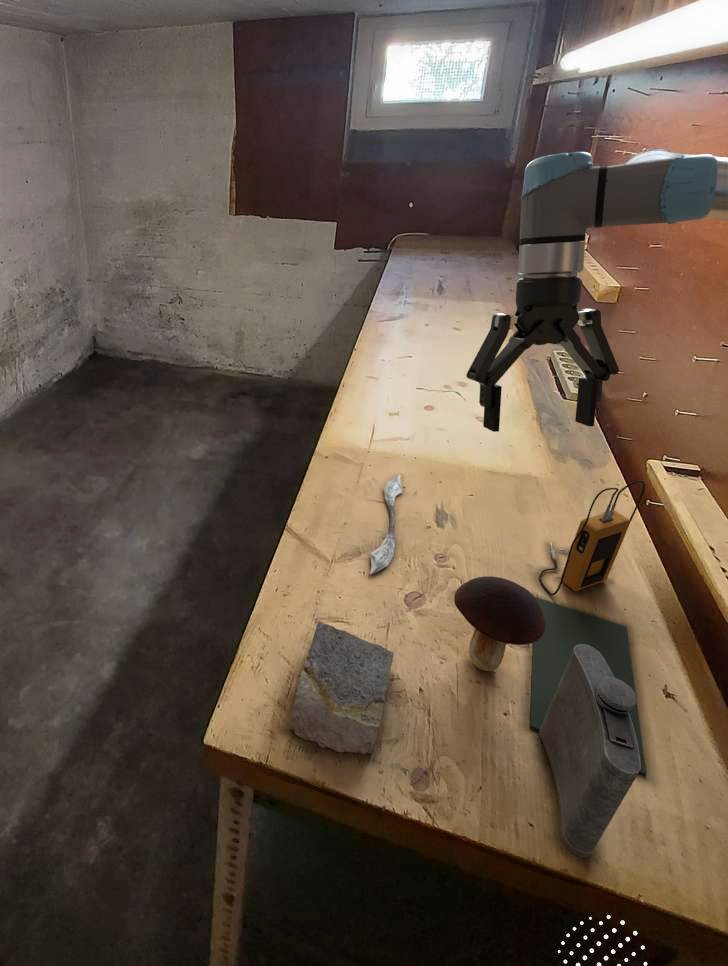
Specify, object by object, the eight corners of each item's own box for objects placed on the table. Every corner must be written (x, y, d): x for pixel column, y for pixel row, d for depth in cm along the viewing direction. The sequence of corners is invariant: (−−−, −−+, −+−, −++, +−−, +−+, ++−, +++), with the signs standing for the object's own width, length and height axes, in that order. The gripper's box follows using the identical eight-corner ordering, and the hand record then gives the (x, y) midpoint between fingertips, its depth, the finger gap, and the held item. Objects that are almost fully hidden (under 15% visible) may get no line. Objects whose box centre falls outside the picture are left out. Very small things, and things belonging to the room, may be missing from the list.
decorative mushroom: (430, 631, 85) (447, 557, 79) (504, 632, 85) (527, 557, 78) (459, 700, 75) (482, 621, 69) (543, 701, 75) (573, 621, 68)
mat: (625, 627, 85) (626, 626, 85) (645, 775, 66) (646, 774, 66) (534, 598, 90) (535, 596, 90) (529, 727, 72) (530, 725, 72)
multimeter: (569, 537, 102) (602, 445, 94) (623, 576, 94) (664, 478, 85) (505, 557, 98) (533, 463, 90) (555, 599, 90) (591, 499, 81)
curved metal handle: (366, 575, 96) (397, 582, 94) (367, 572, 95) (397, 579, 94) (380, 471, 122) (403, 475, 121) (380, 469, 122) (404, 473, 120)
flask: (570, 732, 71) (614, 635, 62) (604, 864, 59) (664, 766, 51) (537, 723, 72) (576, 627, 64) (564, 851, 60) (617, 754, 52)
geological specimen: (395, 643, 78) (380, 739, 65) (388, 674, 80) (372, 772, 68) (319, 616, 82) (290, 701, 69) (314, 646, 84) (286, 733, 72)
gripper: (617, 271, 80) (603, 415, 84) (445, 280, 80) (439, 424, 84) (662, 271, 73) (644, 428, 77) (472, 280, 72) (465, 438, 76)
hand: (537, 426), depth 80 cm, fingers open, 13 cm apart
